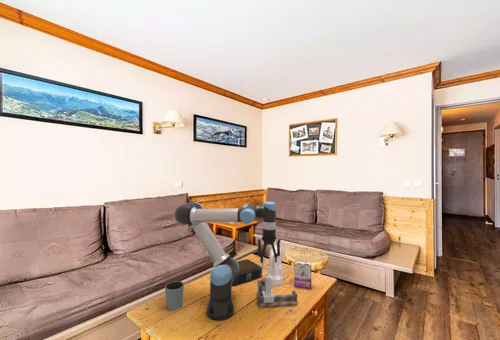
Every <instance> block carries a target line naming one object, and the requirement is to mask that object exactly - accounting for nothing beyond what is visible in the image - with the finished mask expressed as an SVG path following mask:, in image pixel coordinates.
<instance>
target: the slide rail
mask: <svg viewBox="0 0 500 340" xmlns="http://www.w3.org/2000/svg"><path fill="white" fill-rule="evenodd" d="M291 292H292V293H291V294H277V295H274V294H273V295H274V303H263V296H261V295H260V292H258V291H257V293H256V299H257V300H256V301H257V304H258V306H259V309H267V308H268V309H270V308H271V309H273V308H284V307H286V308H287V307H298V293H297V292H296V290H292V291H291Z"/></svg>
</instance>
